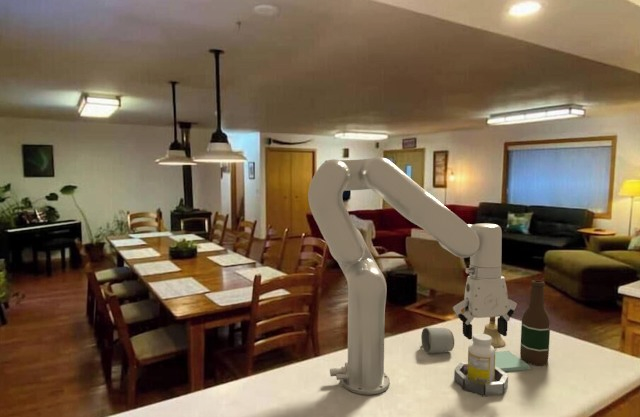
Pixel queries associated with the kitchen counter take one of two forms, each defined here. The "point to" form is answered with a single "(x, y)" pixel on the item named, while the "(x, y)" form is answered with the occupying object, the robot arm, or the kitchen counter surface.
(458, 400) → the kitchen counter surface
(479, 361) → the supplement bottle
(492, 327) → the hand bell
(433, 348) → the ceramic mug
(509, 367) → the pad
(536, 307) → the beer bottle
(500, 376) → the collar
